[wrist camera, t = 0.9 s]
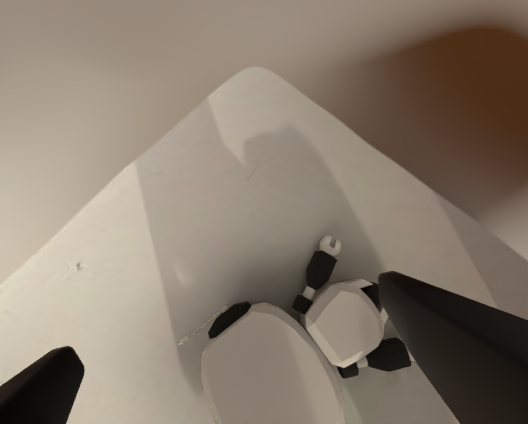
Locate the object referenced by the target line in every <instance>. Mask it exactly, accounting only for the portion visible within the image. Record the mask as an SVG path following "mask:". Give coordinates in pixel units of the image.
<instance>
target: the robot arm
mask: <svg viewBox="0 0 528 424" xmlns="http://www.w3.org/2000/svg"><path fill="white" fill-rule="evenodd" d="M378 285H379V299H380V302H381V304H382V306H383V308H384V310H385V311H386V313H387V315H388V316H389V318H390V320H391V322H392V323H393V325H394V327H395V328H396V330H397V332H398V334H399V335H400V337H401V339H402V340H403V342H404V344H405V346H406V347H407V349H408V351H409V352H410V354H411V355H412V357H413V358H414V360H415V361H416V363H417V364H418V366H419V367H420V368H421V370H422V371H423V373H424V374H425V375H426V377H427V378H428V380H429V381H430V382H431V384H432V385H433V387H434V388H435V389H436V391H437V392H438V393H439V395H440V396H441V398H442V399H443V400H444V402H445V403H446V405H447V406H448V407H449V409H450V410H451V412H452V413H453V414H454V416H455V417H456V419H457V420H458V421H459V423H460V424H528V320H525V319H523V318H520V317H517V316H515V315H512V314H509V313H506V312H504V311H501V310H498V309H496V308H493V307H490V306H487V305H485V304H482V303H479V302H477V301H474V300H471V299H468V298H466V297H463V296H460V295H458V294H455V293H452V292H449V291H447V290H444V289H441V288H439V287H436V286H433V285H430V284H428V283H425V282H422V281H420V280H417V279H414V278H412V277H409V276H406V275H403V274H401V273H398V272H395V271H389V272H385V273H381V274H380V275H379V277H378ZM84 372H85V370H84V365H83V363H82V362H81V360H80V358H79V357H78V355H77V354H76V352H75V350H74V349H73V348H72V347H70V346H65V347H61V348H56V349H53V350H51V351H50V352H48V353H47V354H45V355H44V356H43V357H41V358H40V359H38V360H37V361H36V362H34V363H33V364H31V365H30V366H28V367H27V368H26V369H24V370H23V371H21V372H20V373H19V374H17V375H16V376H14V377H13V378H11V379H10V380H9V381H7V382H6V383H4V384H3V385H1V386H0V424H66V422H67V420H68V417H69V414H70V412H71V409H72V406H73V403H74V401H75V398H76V395H77V393H78V390H79V387H80V384H81V382H82V379H83V376H84Z"/></svg>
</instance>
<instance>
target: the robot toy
mask: <svg viewBox="0 0 528 424" xmlns="http://www.w3.org/2000/svg"><path fill="white" fill-rule="evenodd" d="M332 238H333V237H332V236H324V237H323V239H322V240H321V241H320V251H315V253H314V255H313V257H312V259H311V261H310V263H309V265H308V267H307V275H306V281H307V287H306V289H305V291H304V293H303V295H297V297H296V299H295V301H294V303H293V306H292V308H293V309H295V310H297V311H298V312H300V321H301V325H302V326H303V327H302V326H301V325H300V324H299V323H298V322H297V321H296V320H295V319H294V318H292V317H291V316H290V315H289V314H287V313H286V312H285V311H284V310H282V309H281V308H279V307H277V306H275V305H272V304H269V303H266V302H262V303H258V304H253V305H251V304H250V303H249V302H247V301H246V302H241V303H237V304H234V305H232V306H231V307H230V308H229V307H228V306H227V304H226V305H224V306H223V307H222V308H221V309H219V310H220V311H219V312H217V313H216V314H215V315H213V316H212V317H211V318H209V319H208V320H207V321H206V322H204V323H203V324H202V325H200V326H199V327H198V328H196V329H195V330H194V331H193V332H191V333H190V334H189V335H186V336H185V337H184V338H182V339H181V340H180V341H179V343H178V344H177V345H179V344H182V343H184V342H185V341H186V340H188V339H189V337H191V336H192V335H193V334H194V333H196V332H197V331H198V330H200V329H201V328H202V327H203V326H205V325H206V324H207V323H209V322H210V321H211V320H213V319H214V318H215V317H216V316H218V315H219V314H220V313H221V315H219V316H218V317H217V318H216V320H215V321H214V323H213V324H212V326H211V328H210V330H209V332H208V334H209V338H210V339H209V341H208V343H207V345H206V347H205V349H204V351H203V353H202V355H201V371H200V372H201V379H202V384H203V388H204V392H205V395H206V399H207V402H208V404H209V407H210V409H211V412H212V414H213V417H214V419H215V422H216V424H344V422H345V419H346V417H345V406H344V399H343V395H342V391H341V389H340V386H339V384H338V381H337V379H336V376H335V374H334V372H333V370H332V368H331V366H330V364H329V362H330V363H331V364H333V365H336V366H337V368H338V371H339V374H340V375H341V377H342V378H344V379H345V378H349V377H353V376H357V375H358V368H362V367H366V366H369V367H372V368H376V369H379V370H383V371H393V370H397V369H401V368H405V367H409V366H411V361H412V362H416V361H415V360H414V358H413V357H412V355H411V354H410V352H409V351H408V349H407V347H406V346H405V344H404V342H403V340H400V339H398V338H397V337H395V338H389V339H385V340H382V337H383V335H384V325H385V323H386V321H387V319H388V315H387V313H386V311H385V310H384V308H383V306H382V304H381V302H380V299H379V285H378V284H376V283H374V282H368V281H366V280H364V279H351V280H348V281H344V282H332V283H329V284H326V285H323V284H325V283H326V282H327V281H328V280H329V278H330V275H331V273H332V271H333V269H334V266H335V264H336V262H337V259H335V258H334V257H336V256H337V255H338V254H340V251H341V246H342V245H341V243H340V241H339V240H337V239H336V240H335V241H334V244H333V246H332V247H331V246H329V244H330V242H331V240H332ZM322 285H323V286H322ZM321 286H322V287H321ZM320 287H321V288H320ZM318 288H320V289H319V290H318V291H317V292H316V293H315V294H314V292H315V291H316V290H317V289H318ZM313 294H314V295H313ZM328 361H329V362H328Z"/></svg>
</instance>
